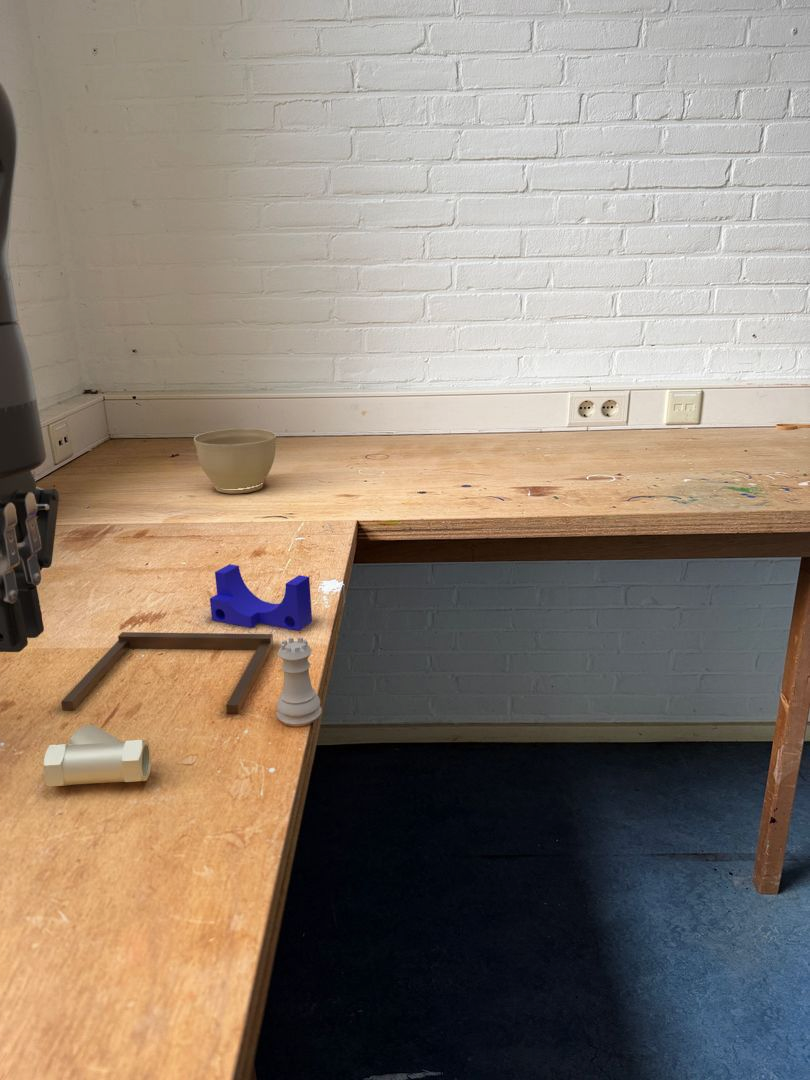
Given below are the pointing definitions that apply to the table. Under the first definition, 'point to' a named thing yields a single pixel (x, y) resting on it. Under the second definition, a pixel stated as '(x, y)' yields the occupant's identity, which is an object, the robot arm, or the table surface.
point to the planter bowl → (236, 457)
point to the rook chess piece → (297, 685)
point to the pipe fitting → (96, 759)
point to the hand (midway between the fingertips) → (19, 641)
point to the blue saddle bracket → (259, 603)
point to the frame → (182, 641)
